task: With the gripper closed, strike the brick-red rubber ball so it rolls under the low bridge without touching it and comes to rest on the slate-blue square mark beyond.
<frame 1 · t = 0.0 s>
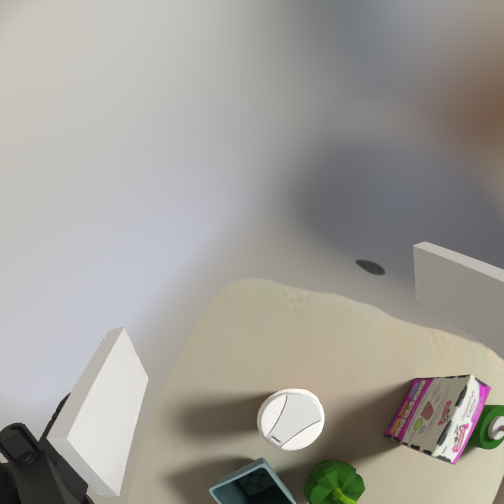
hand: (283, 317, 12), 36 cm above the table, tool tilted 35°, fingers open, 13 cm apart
flower pot: (255, 478, 38), on the table
candy bar box: (409, 411, 40), on the table
bell pepper: (326, 476, 37), on the table
paper cup: (284, 407, 43), on the table
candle: (478, 425, 37), on the table
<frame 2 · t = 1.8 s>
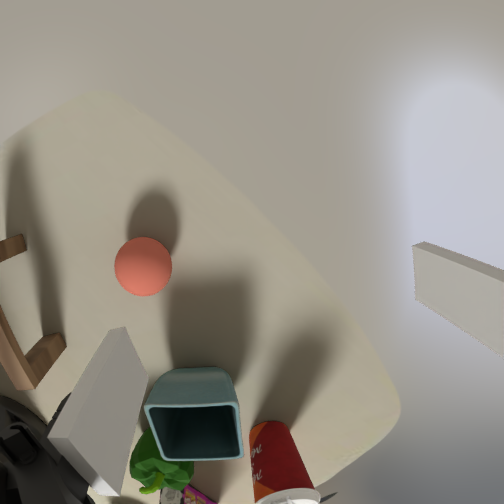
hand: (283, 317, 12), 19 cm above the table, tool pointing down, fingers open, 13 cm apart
bridge: (33, 295, 29), on the table
flower pot: (198, 382, 34), on the table
candy bar box: (190, 494, 39), on the table
bell pepper: (164, 435, 36), on the table
ball: (143, 266, 27), on the table
paper cup: (268, 433, 37), on the table
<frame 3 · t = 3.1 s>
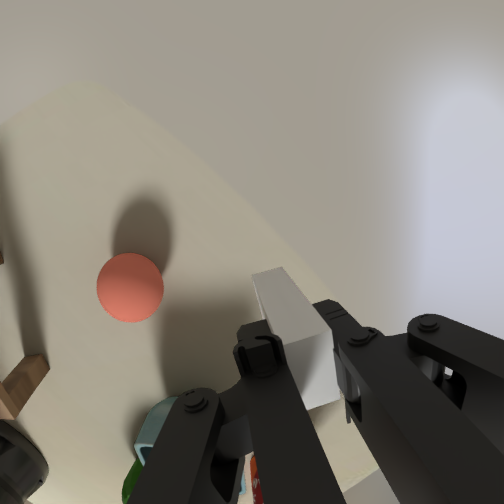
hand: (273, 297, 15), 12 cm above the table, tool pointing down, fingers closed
bridge: (12, 312, 24), on the table
flower pot: (195, 411, 30), on the table
bell pepper: (158, 461, 31), on the table
ball: (130, 287, 23), on the table
paper cup: (271, 459, 33), on the table
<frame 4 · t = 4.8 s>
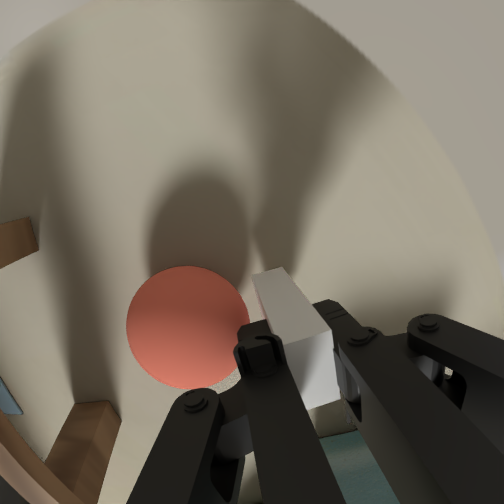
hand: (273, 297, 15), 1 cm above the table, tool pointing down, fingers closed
bridge: (54, 337, 15), on the table
flower pot: (340, 448, 20), on the table
ball: (187, 327, 13), on the table
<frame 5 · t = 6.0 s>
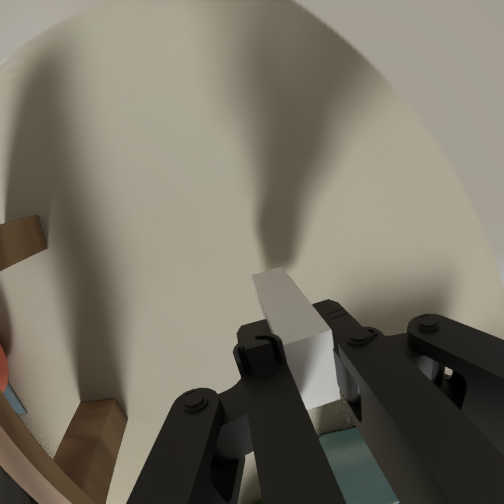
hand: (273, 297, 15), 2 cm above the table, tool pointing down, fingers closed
bridge: (61, 335, 16), on the table
flower pot: (342, 445, 21), on the table
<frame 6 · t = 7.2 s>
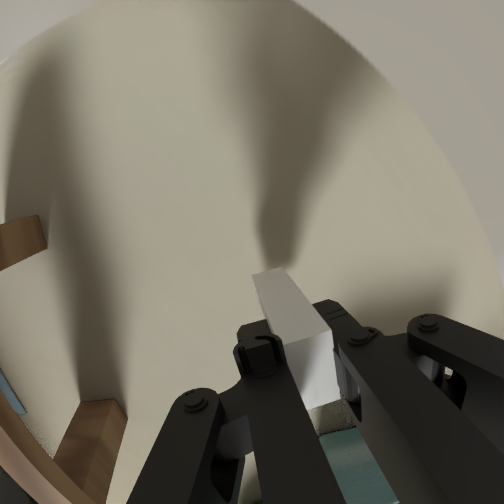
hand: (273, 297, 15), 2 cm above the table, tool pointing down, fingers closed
bridge: (61, 335, 16), on the table
flower pot: (342, 445, 21), on the table
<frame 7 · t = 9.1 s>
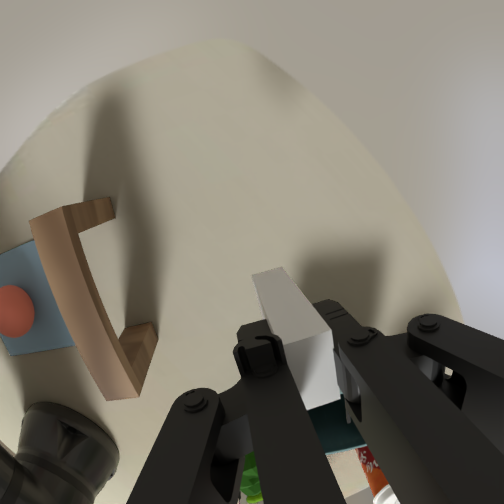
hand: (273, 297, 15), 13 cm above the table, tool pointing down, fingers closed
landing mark: (19, 304, 26), on the table
bridge: (118, 276, 27), on the table
flower pot: (313, 370, 32), on the table
candy bar box: (265, 495, 37), on the table
bell pepper: (259, 433, 33), on the table
ball: (11, 311, 24), on the table
paper cup: (365, 420, 35), on the table
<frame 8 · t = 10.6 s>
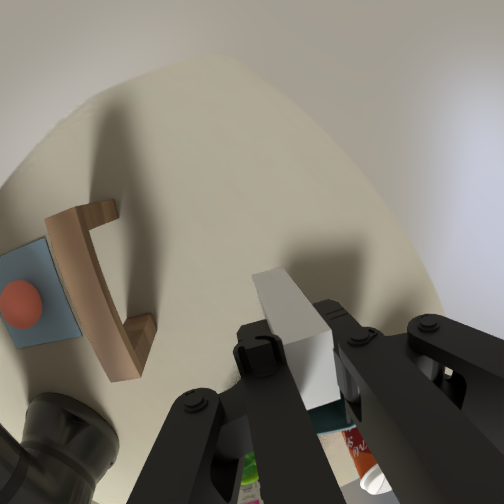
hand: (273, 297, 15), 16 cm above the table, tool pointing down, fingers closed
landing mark: (27, 298, 29), on the table
bridge: (121, 270, 30), on the table
flower pot: (300, 359, 35), on the table
candy bar box: (259, 484, 40), on the table
bell pepper: (252, 420, 36), on the table
ball: (20, 304, 26), on the table
paper cup: (352, 408, 38), on the table
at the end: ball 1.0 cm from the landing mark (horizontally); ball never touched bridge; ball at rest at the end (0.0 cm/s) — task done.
